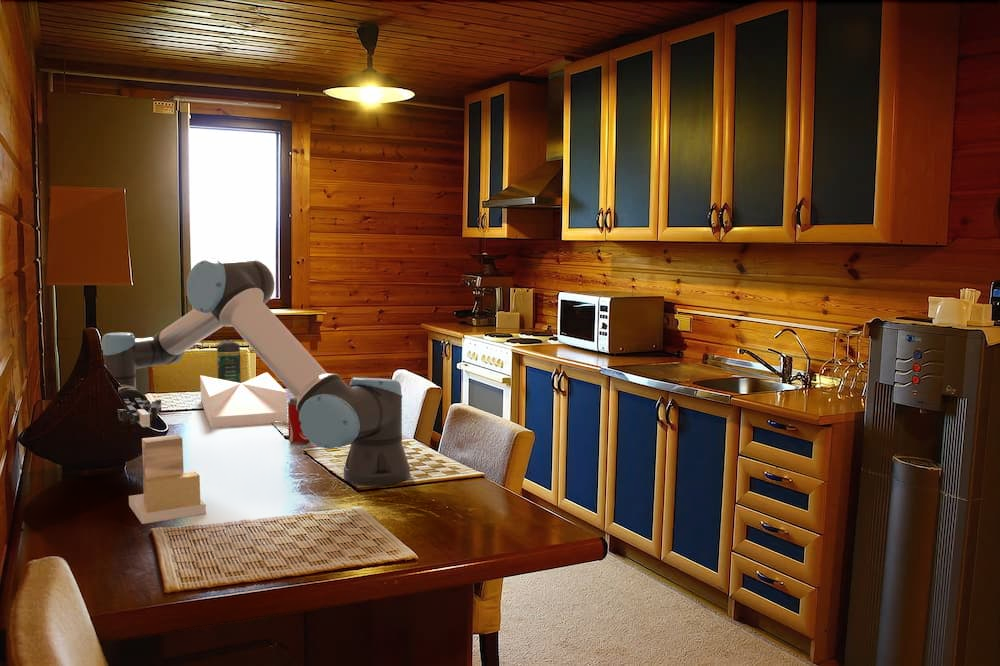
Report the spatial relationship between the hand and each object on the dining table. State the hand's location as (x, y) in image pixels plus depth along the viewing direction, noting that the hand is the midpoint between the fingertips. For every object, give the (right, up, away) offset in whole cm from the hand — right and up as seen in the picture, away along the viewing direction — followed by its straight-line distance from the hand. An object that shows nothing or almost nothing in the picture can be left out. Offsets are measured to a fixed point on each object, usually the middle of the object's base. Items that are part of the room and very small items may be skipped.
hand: (146, 420), depth 188 cm
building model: (-7, -7, +91) cm, 92 cm away
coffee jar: (-22, -3, +127) cm, 129 cm away
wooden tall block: (+8, -14, -10) cm, 19 cm away
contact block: (+12, -15, -17) cm, 26 cm away
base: (+9, -17, -12) cm, 22 cm away
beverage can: (+22, -11, +47) cm, 54 cm away
